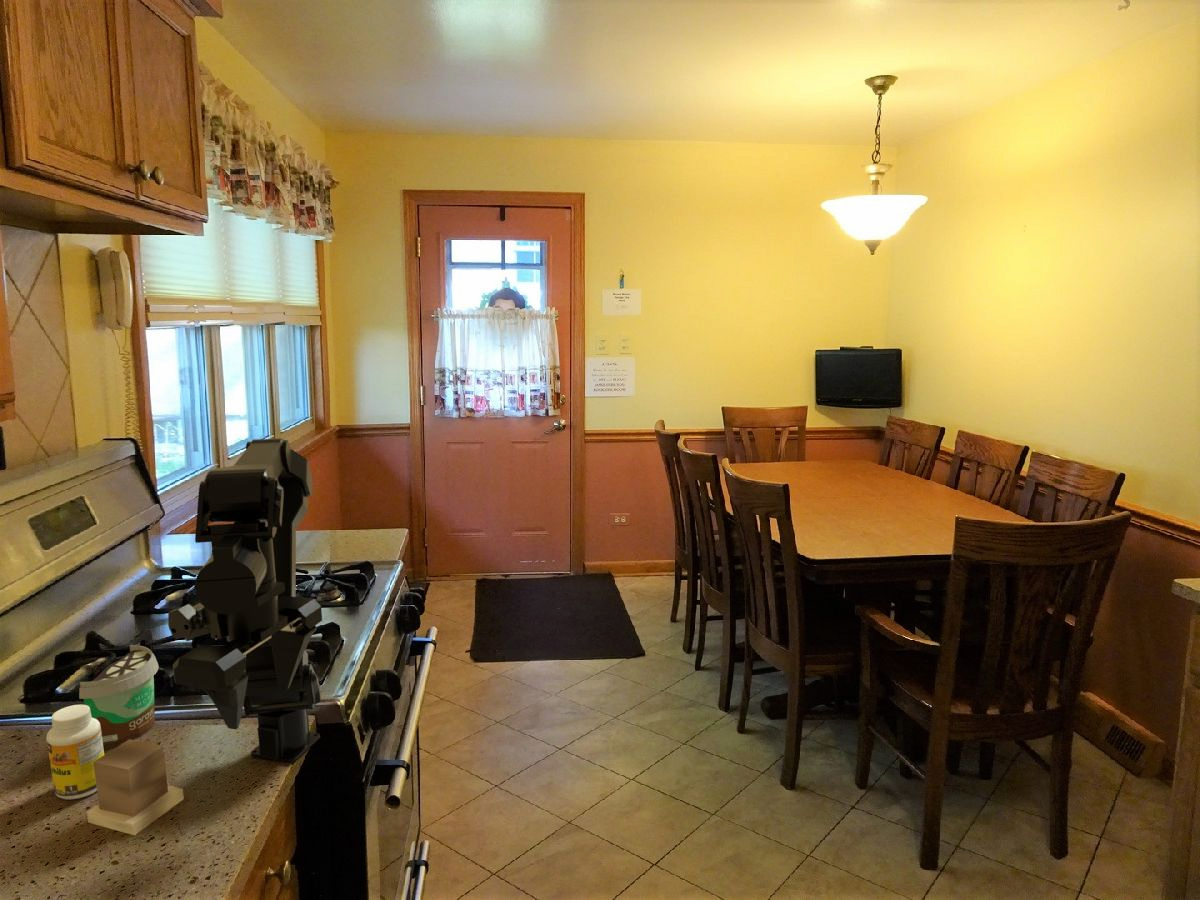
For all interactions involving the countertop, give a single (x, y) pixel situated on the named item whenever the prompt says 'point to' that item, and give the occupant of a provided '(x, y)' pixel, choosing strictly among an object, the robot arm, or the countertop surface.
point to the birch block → (141, 819)
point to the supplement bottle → (74, 751)
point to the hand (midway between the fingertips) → (259, 707)
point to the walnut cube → (130, 777)
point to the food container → (123, 697)
